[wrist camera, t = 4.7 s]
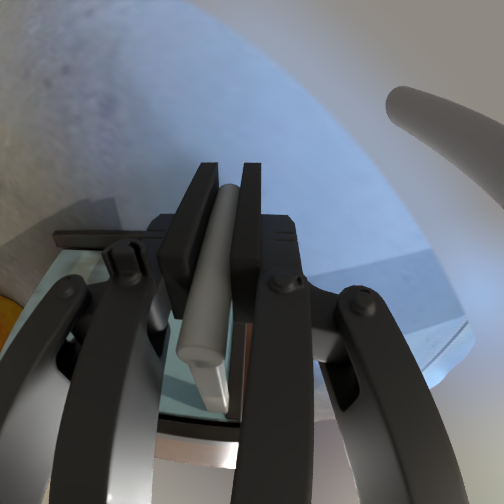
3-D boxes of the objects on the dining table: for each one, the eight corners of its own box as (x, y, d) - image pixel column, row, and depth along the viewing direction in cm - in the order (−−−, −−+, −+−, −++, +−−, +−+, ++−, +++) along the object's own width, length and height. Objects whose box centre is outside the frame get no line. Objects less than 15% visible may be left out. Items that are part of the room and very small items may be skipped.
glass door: (252, 165, 14) (236, 355, 6) (250, 252, 17) (241, 423, 9) (114, 170, 14) (-2, 313, 6) (134, 249, 17) (72, 392, 9)
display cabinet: (262, 232, 17) (260, 442, 8) (256, 349, 26) (253, 471, 16) (55, 230, 17) (-27, 358, 8) (108, 335, 26) (76, 436, 17)
